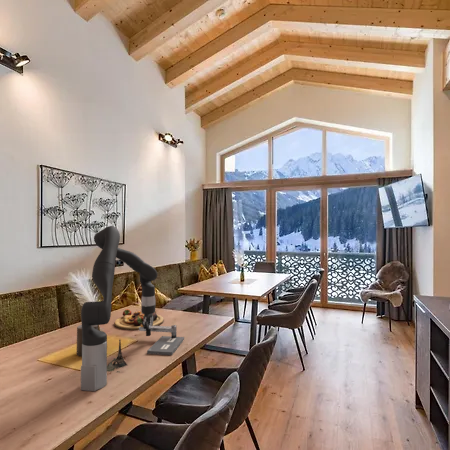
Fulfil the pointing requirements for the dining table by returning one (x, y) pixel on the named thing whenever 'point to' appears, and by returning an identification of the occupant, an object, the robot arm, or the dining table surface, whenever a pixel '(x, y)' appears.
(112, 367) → the eiffel tower figurine
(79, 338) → the pillar candle
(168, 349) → the label board
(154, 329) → the swing arm
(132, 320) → the wooden plate with food
